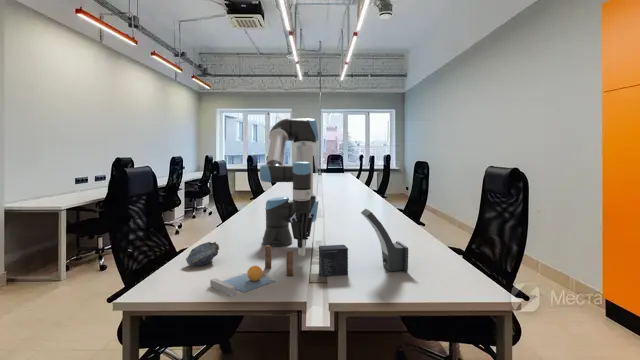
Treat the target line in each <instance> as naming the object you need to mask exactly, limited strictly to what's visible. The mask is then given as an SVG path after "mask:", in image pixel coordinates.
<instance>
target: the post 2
mask: <svg viewBox="0 0 640 360" xmlns="http://www.w3.org/2000/svg"><path fill="white" fill-rule="evenodd" d="M285 259H286V261H285V262H286V263H285V264H286V265H285V266H286V268H285V269H286V271H285V272H286V275H285V276H286V277H293V276H294V251H293V250H288V251H286V256H285Z"/></svg>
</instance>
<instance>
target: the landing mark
mask: <svg viewBox="0 0 640 360" xmlns="http://www.w3.org/2000/svg"><path fill="white" fill-rule="evenodd" d="M222 281H223V282H226V283H228V284H230V285H233V286H235V287H236V291H239V292H242V293H247V292H249V291H252V290H255V289H257V288H260V287H263V286H266V285H269V284H272V283H274V282H276V280H274V279H271V278H269V277H267V276H263V275H262V277H261V279H259V280H258V281H251V280H250V279H249V278H248V276H247V273H244V274H240V275H237V276H235V277H230V278H228V279H225V280H222Z"/></svg>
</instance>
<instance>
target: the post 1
mask: <svg viewBox="0 0 640 360" xmlns="http://www.w3.org/2000/svg"><path fill="white" fill-rule="evenodd" d="M264 269H266V270H271V269H272V246H270V245H265V246H264Z"/></svg>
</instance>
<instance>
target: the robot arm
mask: <svg viewBox="0 0 640 360" xmlns="http://www.w3.org/2000/svg"><path fill="white" fill-rule="evenodd" d="M319 138H320V137H319V131H318V123H317V120H316V119H314V118H284V119H281V120H279V121H278V122H276V123H275V124H274V125H273V126H272V127H271V129H270V131H269V136H268V139H269V146H268V152H267V157H266V162H265V163H266V164H262V165H260V168H259V178H260V181H261V182H262V183H292V199H290V197H289V196H278V197H272V198H270V199H267V200H266V202H265V208H264V209H265V230H264V234H263V237H262V244H263V245H265V246H266V245H270V246H271V247H284V246H285V247H286V246H289V245H291V244H292V243H293V240H297V249H298V253H297V254H298V256H303V257H304V256H306V247H307V240H309V237H311V231H312V224H313V223H314V222H316V221H317V216H318V208H319V199H316V198H317V196H316V195H315V194H314V181H313V179H314V147H315V146H317V145H316V144H317V142H318V141H319ZM287 142H293V146H294V147H296V150H295V151H296V152H295V153H296V155H295V156H296V158H295V159H296V161H294V162H293V163H292V164H284V160H285V150H286V143H287ZM289 225H290V226H291V230H292V231H291V230H290V226H289ZM291 232H292V233H291Z"/></svg>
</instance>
